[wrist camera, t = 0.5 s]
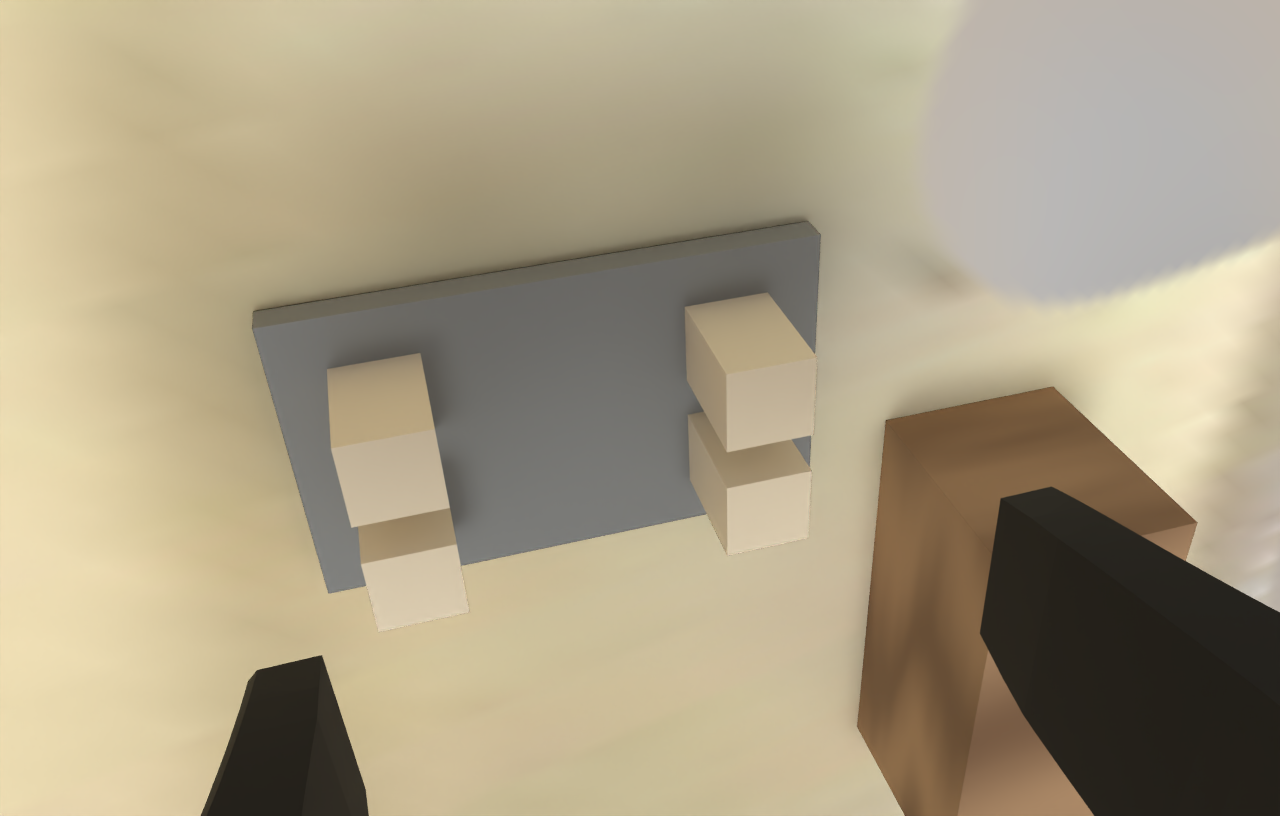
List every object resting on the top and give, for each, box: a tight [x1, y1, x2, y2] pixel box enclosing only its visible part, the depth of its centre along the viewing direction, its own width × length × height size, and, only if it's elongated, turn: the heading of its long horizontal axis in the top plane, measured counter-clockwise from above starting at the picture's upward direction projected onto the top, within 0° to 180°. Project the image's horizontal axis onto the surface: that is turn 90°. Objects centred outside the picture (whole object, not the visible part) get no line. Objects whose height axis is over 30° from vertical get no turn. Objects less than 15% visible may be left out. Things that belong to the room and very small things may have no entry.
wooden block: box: [857, 387, 1197, 816], centre depth 25 cm, size 10×4×5 cm, turn 2°
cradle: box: [252, 221, 821, 632], centre depth 20 cm, size 10×6×3 cm, turn 92°
